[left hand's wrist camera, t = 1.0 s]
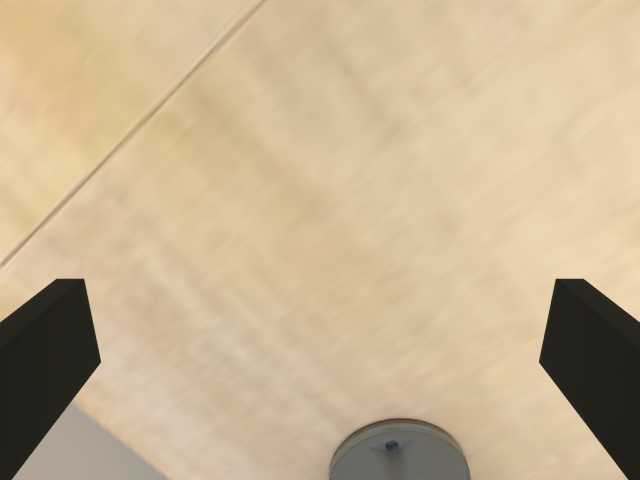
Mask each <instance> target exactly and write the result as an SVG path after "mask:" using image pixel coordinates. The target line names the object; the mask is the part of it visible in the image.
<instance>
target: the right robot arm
mask: <svg viewBox="0 0 640 480" xmlns="http://www.w3.org/2000/svg"><path fill="white" fill-rule="evenodd" d="M329 480H471V478H470V472H469V468H468V465H467V462H466V459H465V457H464V454H463V452H462V450H461V448H460V447H459V445H458V444H457V442H456V441H455V440H454V439H453V438H452V437H451V436H450V435H448V434H447V433H446V432H444V431H443V430H441V429H439V428H437V427H435V426H433V425H430V424H427V423H424V422H420V421H414V420H389V421H384V422H379V423H376V424H373V425H370V426H367V427H365V428H363V429H361V430H359V431H357V432H356V433H354V434H353V435H351V436H350V437H349V438H348V439H347V440H345V441H344V442H343V444H342V445H341V446H340V447H339V448H338V450H337V451H336V453H335V455H334V457H333V459H332V462H331V465H330V471H329Z"/></svg>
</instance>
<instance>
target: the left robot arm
mask: <svg viewBox="0 0 640 480" xmlns="http://www.w3.org/2000/svg"><path fill="white" fill-rule="evenodd" d="M100 363H101V359H100V354H99V349H98V344H97V340H96V335H95V330H94V325H93V320H92V315H91V310H90V305H89V300H88V295H87V290H86V286H85V281H84V279H56V280H54V281H53V282H52V283H50V284H49V285H48V286H47V287H45V288H44V289H43V290H41V291H40V292H39V293H38V294H36V295H35V296H34V297H32V298H31V299H30V300H29V301H27V302H26V303H25V304H23V305H22V306H21V307H19V308H18V309H17V310H16V311H14V312H13V313H12V314H10V315H9V316H8V317H7V318H5V319H4V320H3V321H1V322H0V480H12V479H13V477H14V476H15V475H16V473H17V472H18V471H19V469H20V468H21V467H22V465H23V464H24V463H25V461H26V460H27V459H28V457H29V456H30V455H31V454H32V452H33V451H34V450H35V448H36V447H37V446H38V444H39V443H40V442H41V440H42V439H43V438H44V436H45V435H46V434H47V433H48V431H49V430H50V429H51V427H52V426H53V425H54V423H55V422H56V421H57V419H58V418H59V417H60V415H61V414H62V413H63V412H64V410H65V409H66V408H67V406H68V405H69V404H70V402H71V401H72V400H73V398H74V397H75V396H76V394H77V393H78V392H79V391H80V389H81V388H82V387H83V385H84V384H85V383H86V381H87V380H88V379H89V377H90V376H91V375H92V373H93V372H94V371H95V370H96V368H97V367H98V366H99V364H100ZM539 363H540V364H541V366H542V367H543V368H544V370H545V371H546V372H547V373H548V375H549V376H550V377H551V379H552V380H553V381H554V383H555V384H556V385H557V387H558V388H559V389H560V391H561V392H562V393H563V394H564V396H565V397H566V398H567V400H568V401H569V402H570V404H571V405H572V406H573V408H574V409H575V410H576V412H577V413H578V414H579V415H580V417H581V418H582V419H583V421H584V422H585V423H586V425H587V426H588V427H589V429H590V430H591V431H592V433H593V434H594V435H595V437H596V438H597V439H598V440H599V442H600V443H601V444H602V446H603V447H604V448H605V450H606V451H607V452H608V454H609V455H610V456H611V458H612V459H613V460H614V461H615V463H616V464H617V465H618V467H619V468H620V469H621V471H622V472H623V473H624V475H625V476H626V477H627V479H628V480H640V322H639V321H637V320H636V319H635V318H633V317H632V316H631V315H630V314H628V313H627V312H626V311H624V310H623V309H622V308H621V307H619V306H618V305H617V304H615V303H614V302H613V301H611V300H610V299H609V298H608V297H606V296H605V295H604V294H602V293H601V292H600V291H599V290H597V289H596V288H595V287H593V286H592V285H591V284H590V283H588V282H587V281H586V280H584V279H556V281H555V286H554V290H553V295H552V300H551V305H550V310H549V315H548V320H547V325H546V330H545V335H544V340H543V344H542V349H541V354H540V359H539Z"/></svg>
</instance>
